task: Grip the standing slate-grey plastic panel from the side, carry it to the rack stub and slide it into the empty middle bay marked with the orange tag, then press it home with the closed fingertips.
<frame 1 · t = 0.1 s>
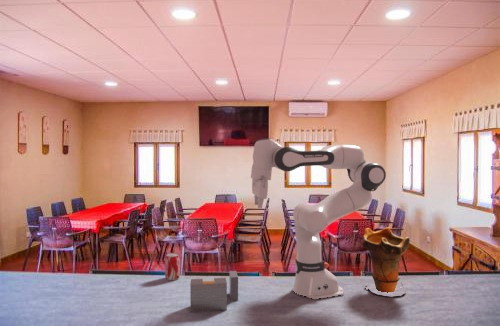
hand: (258, 206, 161), 39 cm above the countertop, tool pointing down, fingers open, 8 cm apart
decorative vase: (384, 290, 167), on the countertop
panel: (233, 296, 159), on the countertop
soda can: (172, 279, 181), on the countertop
rack: (208, 308, 147), on the countertop
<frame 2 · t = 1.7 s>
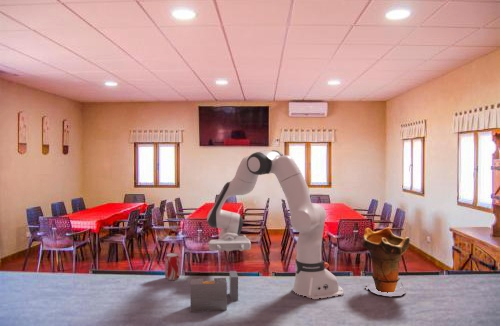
hand: (231, 249, 170), 17 cm above the countertop, tool horizontal, fingers open, 8 cm apart
nothing on the countertop moved.
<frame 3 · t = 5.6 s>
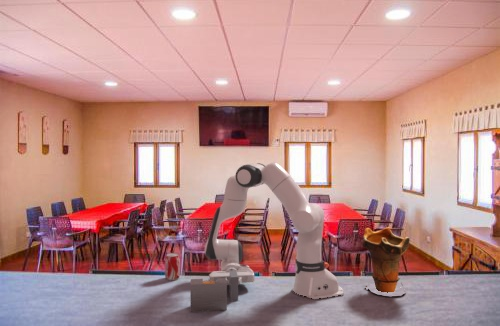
hand: (233, 283, 160), 6 cm above the countertop, tool horizontal, fingers closed on panel, 3 cm apart
panel: (233, 296, 159), on the countertop, touching gripper
everything else where it was.
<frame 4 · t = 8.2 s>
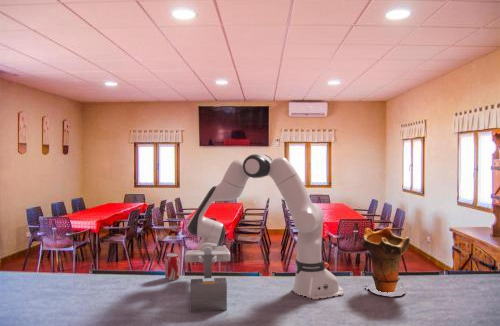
hand: (207, 261, 157), 16 cm above the countertop, tool horizontal, fingers closed on panel, 3 cm apart
panel: (207, 274, 156), point 10 cm above the countertop, touching gripper
everything else where it was.
when the fingers open (6 cm above the countertop, at t = 10.8 s): panel stays where it is, on the countertop.
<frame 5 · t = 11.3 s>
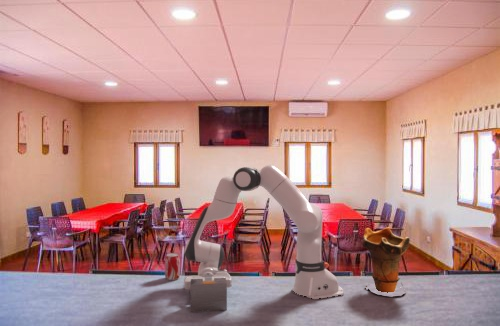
hand: (208, 288, 151), 6 cm above the countertop, tool horizontal, fingers open, 8 cm apart
panel: (208, 304, 151), on the countertop
everything else where it was.
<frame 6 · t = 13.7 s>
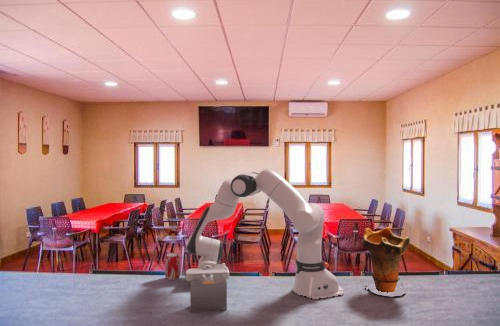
hand: (207, 280, 164), 5 cm above the countertop, tool horizontal, fingers closed
nothing on the countertop moved.
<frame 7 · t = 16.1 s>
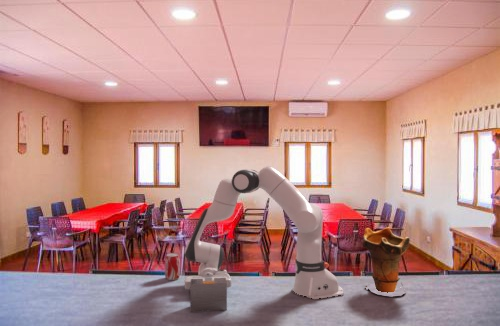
hand: (208, 288, 154), 5 cm above the countertop, tool horizontal, fingers closed, pressing on panel
panel: (208, 305, 150), on the countertop, touching gripper
everything else where it was.
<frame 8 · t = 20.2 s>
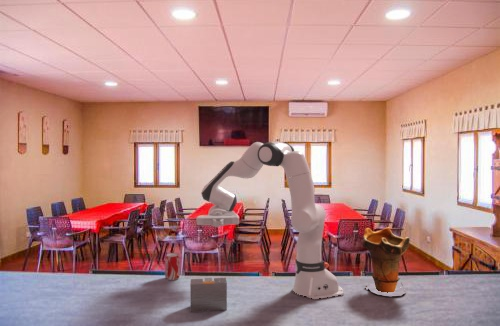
hand: (218, 223, 168), 30 cm above the countertop, tool horizontal, fingers closed
panel: (208, 305, 150), on the countertop
everything else where it was.
at the end: panel 0.2 cm from the target spot, on the countertop; panel tilted 0°; the gripper is holding nothing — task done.
